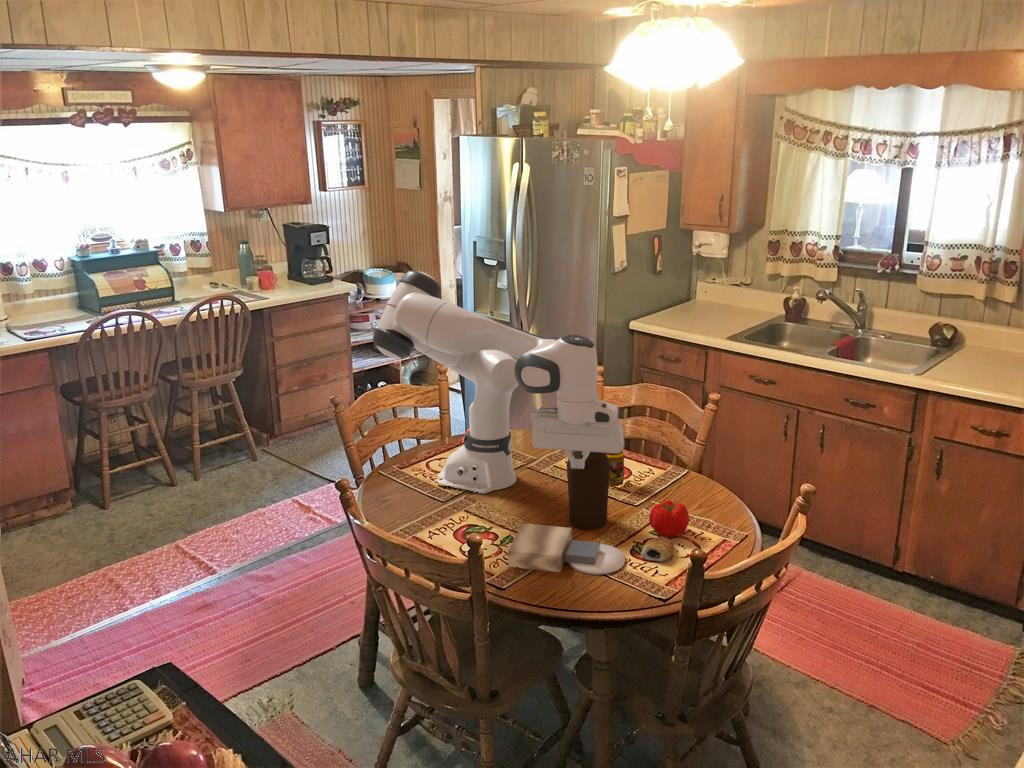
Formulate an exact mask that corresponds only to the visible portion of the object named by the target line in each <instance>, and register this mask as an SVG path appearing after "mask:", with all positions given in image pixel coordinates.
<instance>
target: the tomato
mask: <svg viewBox="0 0 1024 768" xmlns="http://www.w3.org/2000/svg"><path fill="white" fill-rule="evenodd" d="M677 502H678V501H675V502H673V501H671V500H670V499H666V500H665V501H663V502H661V503H657V504H654V506H652V508H651V510H650V513H649V517H648V522H649V525H650V527H651V528H652V529H653V531H654V532H655V533H656V534H657V535H659V536H660V537H665V538H677V537H680V536H681V535H684V533H685V532H686V530H687V528H688V526H689V522H690V514H689V513H688V512H689V511H688V509H687V507H686V506H685V505H684V504H683V503H682V502H678V503H677Z"/></svg>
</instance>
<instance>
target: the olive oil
mask: <svg viewBox="0 0 1024 768" xmlns="http://www.w3.org/2000/svg"><path fill="white" fill-rule="evenodd" d="M572 454H573V456H574V458H575V459H582V458H583V456H584V455H582V451H573V452H572ZM609 474H610V463H609V459H608V456H607V455H606V453H602V452H590V453H589V455H588V457H587V459H586V460H585V467H584V469H574V468H571V461H569V459H568V458H567V462H566V475H567V490H568V492H567V493H568V512H569V513H568V514H569V515H568V517H569V523H570V525H571V526H572V527H574V528H576V529H579V530H584V531H585V530H586V531H592V530H598V529H601V528H603V527H605V526H606V525H607V523H608V507H609V506H608V505H609V503H608V502H609V489H610V488H609Z"/></svg>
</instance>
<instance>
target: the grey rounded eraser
mask: <svg viewBox="0 0 1024 768" xmlns="http://www.w3.org/2000/svg"><path fill="white" fill-rule="evenodd" d="M600 544H601V542H593V541H584V540H576V539H572V540H570V542H569V545H568V547H567V549H566V552H565V554H564V563H567V564H569V563H578V564H587V565H595V564H596V561H597V558H598V555H599V552H600Z"/></svg>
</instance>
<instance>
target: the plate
mask: <svg viewBox="0 0 1024 768" xmlns="http://www.w3.org/2000/svg"><path fill="white" fill-rule="evenodd" d="M625 563H626V557H625V554H624V552H622V551H621V550H620V549H619V548H617V547H615V546H612V545H610V544H604V543H600V552H599V555H598V558H597V561H596V564H595V565H587V564H578V563H568V564H569V566H570V567H571V568H572V569H573V570H576V571H577V572H580V573H583V574H587V575H595V576H596V575H597V576H599V575H601V576H602V575H608V574H613V573H615V572H618V571H619V570H620V569H622V568H623V567H624V566H625Z"/></svg>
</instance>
